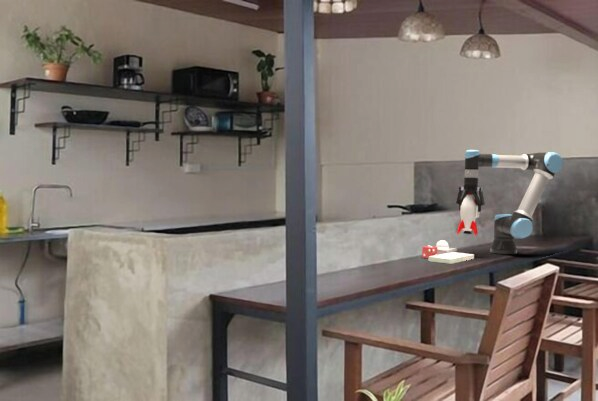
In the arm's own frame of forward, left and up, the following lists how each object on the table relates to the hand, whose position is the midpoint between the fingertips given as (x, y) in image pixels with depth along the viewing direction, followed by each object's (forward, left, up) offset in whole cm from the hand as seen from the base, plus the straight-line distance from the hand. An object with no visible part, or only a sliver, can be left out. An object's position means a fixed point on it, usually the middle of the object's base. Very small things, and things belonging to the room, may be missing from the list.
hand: (469, 217), depth 362 cm
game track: (+16, +12, -23) cm, 30 cm away
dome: (+13, -6, -22) cm, 26 cm away
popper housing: (+13, -6, -23) cm, 27 cm away
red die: (+24, +2, -23) cm, 33 cm away
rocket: (+1, -1, -11) cm, 11 cm away
